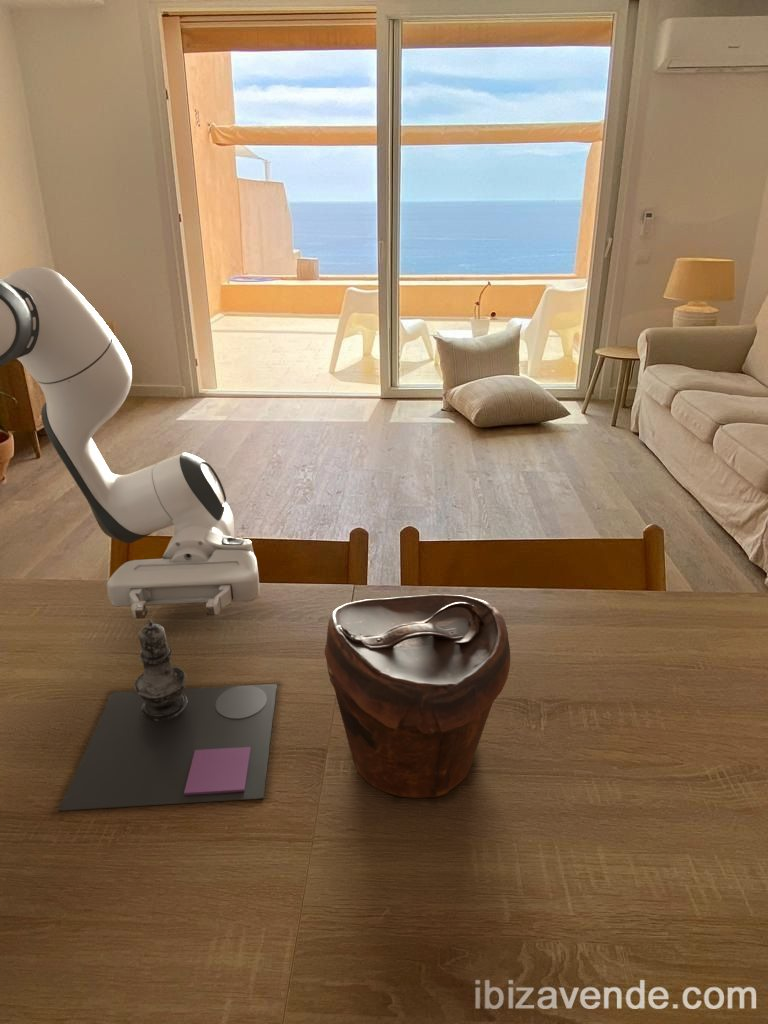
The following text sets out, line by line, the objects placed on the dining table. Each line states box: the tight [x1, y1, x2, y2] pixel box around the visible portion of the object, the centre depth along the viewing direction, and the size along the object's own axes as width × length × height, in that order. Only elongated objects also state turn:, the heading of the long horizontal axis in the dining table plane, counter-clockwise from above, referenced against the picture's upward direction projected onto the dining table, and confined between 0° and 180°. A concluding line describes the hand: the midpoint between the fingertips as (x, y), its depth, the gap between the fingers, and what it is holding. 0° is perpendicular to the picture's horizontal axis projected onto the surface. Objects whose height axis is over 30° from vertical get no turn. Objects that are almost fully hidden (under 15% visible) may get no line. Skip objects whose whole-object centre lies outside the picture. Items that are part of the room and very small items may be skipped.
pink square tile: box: [184, 747, 251, 795], centre depth 73 cm, size 6×6×1 cm
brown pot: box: [324, 593, 511, 799], centre depth 71 cm, size 18×20×18 cm
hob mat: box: [58, 683, 278, 812], centre depth 77 cm, size 20×18×1 cm
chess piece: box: [133, 619, 188, 721], centre depth 80 cm, size 6×6×12 cm
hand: (174, 612), depth 89 cm, fingers open, 8 cm apart
